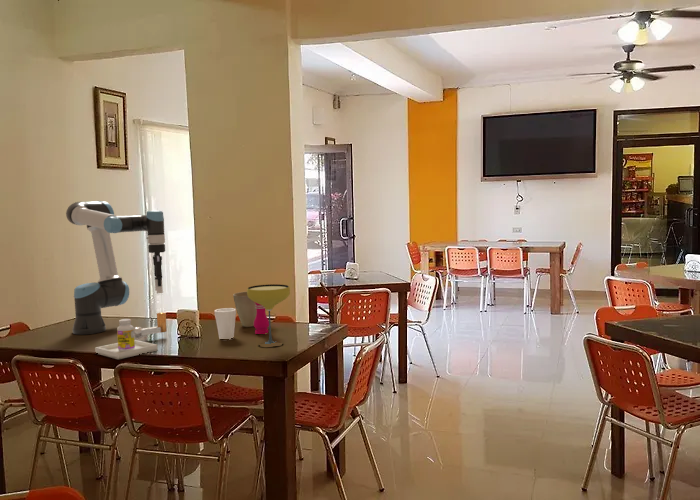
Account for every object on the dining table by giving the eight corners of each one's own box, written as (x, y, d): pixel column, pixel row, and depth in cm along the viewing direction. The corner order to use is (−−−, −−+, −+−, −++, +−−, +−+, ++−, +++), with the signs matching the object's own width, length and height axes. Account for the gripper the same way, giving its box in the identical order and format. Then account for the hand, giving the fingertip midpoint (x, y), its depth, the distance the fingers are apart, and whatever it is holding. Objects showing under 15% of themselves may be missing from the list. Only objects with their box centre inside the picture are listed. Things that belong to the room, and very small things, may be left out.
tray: (95, 353, 275) (95, 347, 275) (134, 345, 289) (133, 339, 289) (118, 359, 263) (118, 353, 263) (157, 350, 277) (157, 344, 277)
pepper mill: (266, 335, 302) (265, 292, 300) (251, 335, 303) (250, 292, 301) (271, 332, 309) (270, 289, 307) (257, 331, 310) (255, 289, 308)
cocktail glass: (300, 342, 285) (298, 285, 283) (274, 351, 269) (272, 291, 267) (266, 338, 294) (264, 283, 292) (240, 347, 279) (238, 289, 276)
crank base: (122, 342, 294) (121, 333, 293) (140, 339, 301) (139, 329, 300) (133, 345, 288) (133, 335, 288) (151, 341, 295) (151, 331, 295)
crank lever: (133, 337, 291) (132, 318, 290) (130, 335, 294) (128, 317, 294) (168, 331, 301) (167, 313, 301) (164, 330, 305) (163, 312, 304)
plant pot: (237, 322, 334) (236, 291, 333) (267, 322, 333) (265, 291, 332) (231, 328, 319) (230, 296, 318) (261, 328, 319) (260, 295, 317)
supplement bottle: (115, 351, 273) (113, 321, 272) (122, 348, 280) (120, 318, 279) (130, 351, 272) (128, 321, 271) (137, 348, 279) (135, 318, 278)
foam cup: (211, 338, 297) (210, 310, 296) (228, 335, 304) (227, 307, 303) (224, 341, 291) (223, 312, 290) (241, 337, 298) (239, 309, 297)
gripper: (147, 242, 314) (149, 289, 316) (149, 245, 293) (152, 295, 295) (163, 242, 317) (165, 288, 318) (166, 244, 296) (169, 294, 298)
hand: (159, 291), depth 307 cm, fingers open, 9 cm apart
